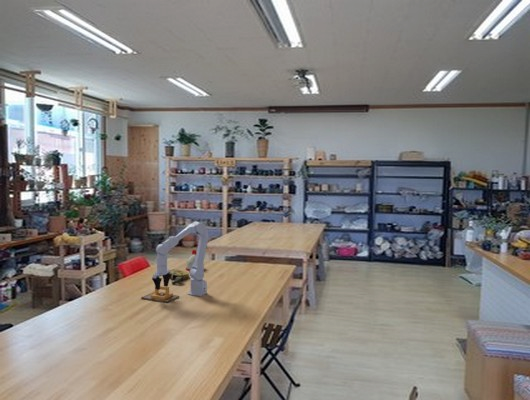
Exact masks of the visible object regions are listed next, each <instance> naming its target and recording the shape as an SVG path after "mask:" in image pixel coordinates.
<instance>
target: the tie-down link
mask: <svg viewBox="0 0 530 400" xmlns="http://www.w3.org/2000/svg"><path fill="white" fill-rule="evenodd" d="M161 290H162V291H161ZM163 290H164V291H163ZM154 292H155V294H153V295H151V298H155V299H162V300H164V299H167V298H169V297H171V296H173V295H174V293H173V292H170V287H169V286H167V287H166V286H164V285H160V290H156V287H155V286H154ZM161 292H163V295H165V296H159V295H161Z"/></svg>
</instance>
